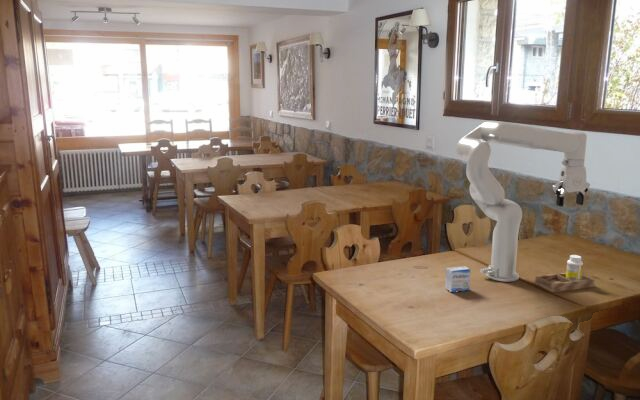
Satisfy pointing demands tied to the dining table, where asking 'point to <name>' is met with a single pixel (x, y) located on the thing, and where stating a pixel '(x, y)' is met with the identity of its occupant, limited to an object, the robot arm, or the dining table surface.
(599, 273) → the dining table surface
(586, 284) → the divided well tray
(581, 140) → the robot arm
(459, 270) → the medicine box
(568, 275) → the supplement bottle
